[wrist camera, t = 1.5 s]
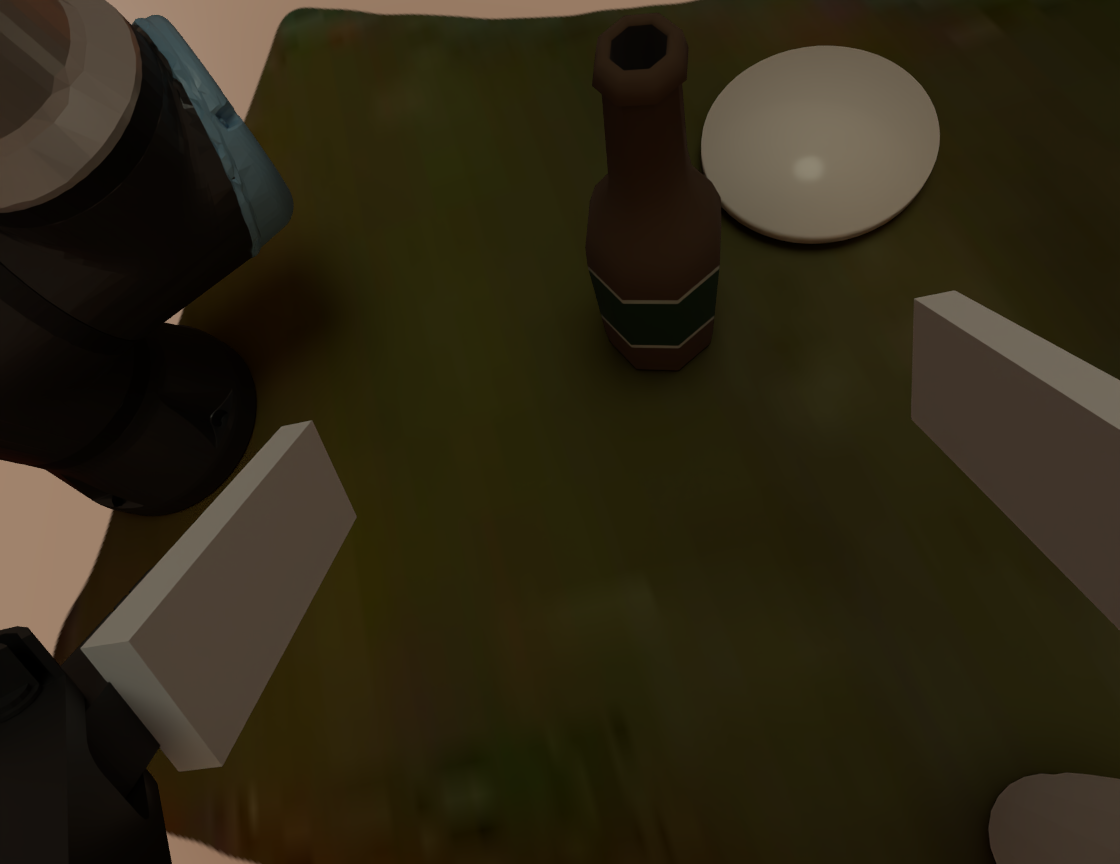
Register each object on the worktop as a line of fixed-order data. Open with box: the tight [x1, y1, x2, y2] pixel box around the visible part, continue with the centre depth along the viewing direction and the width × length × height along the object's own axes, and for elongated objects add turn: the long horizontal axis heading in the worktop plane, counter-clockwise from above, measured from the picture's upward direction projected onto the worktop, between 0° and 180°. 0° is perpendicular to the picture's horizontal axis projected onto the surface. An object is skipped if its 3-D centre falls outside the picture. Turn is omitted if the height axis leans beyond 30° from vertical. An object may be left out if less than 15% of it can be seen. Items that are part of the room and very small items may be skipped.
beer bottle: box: [585, 13, 721, 370], centre depth 35 cm, size 8×8×24 cm
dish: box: [701, 46, 940, 244], centre depth 46 cm, size 16×16×2 cm
